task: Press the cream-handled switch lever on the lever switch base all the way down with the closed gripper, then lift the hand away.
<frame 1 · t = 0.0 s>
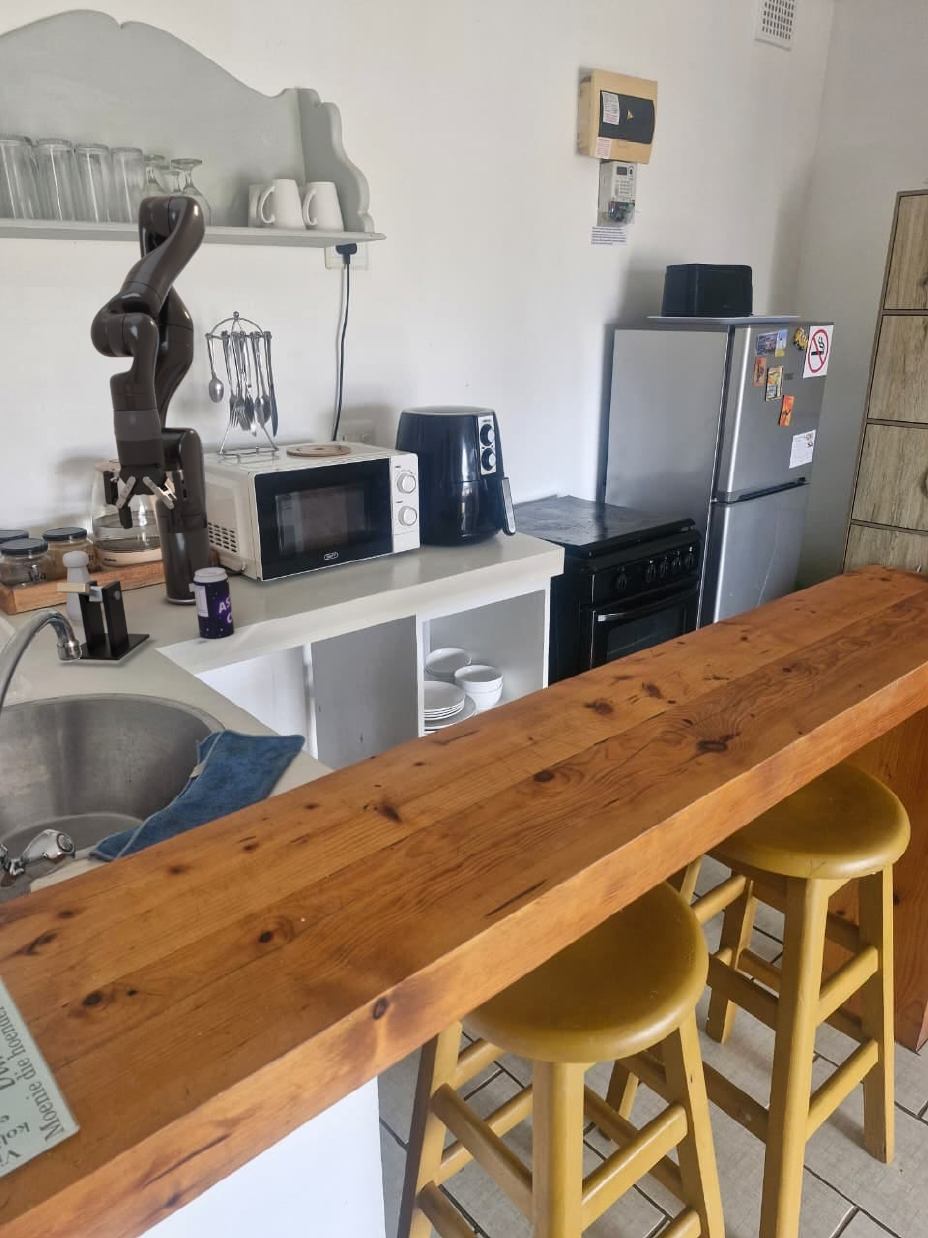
hand: (151, 528, 154), 17 cm above the countertop, tool pointing down, fingers open, 8 cm apart
lever switch base: (109, 652, 144), on the countertop
switch lever: (88, 591, 137), point 12 cm above the countertop, hinge at 25.0°
beverage can: (217, 639, 150), on the countertop
salt shaker: (85, 622, 160), on the countertop
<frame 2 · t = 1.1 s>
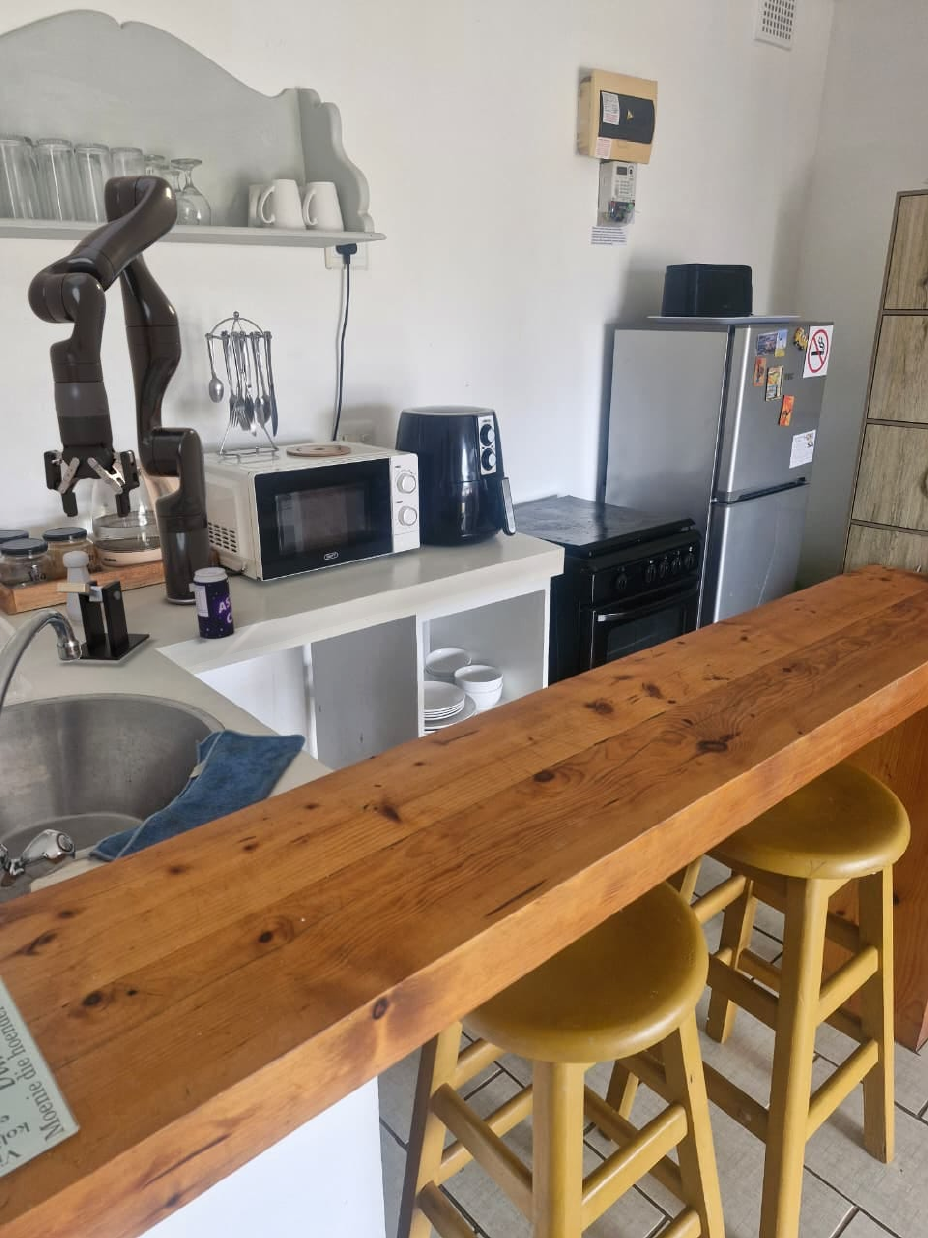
hand: (97, 516, 138), 23 cm above the countertop, tool pointing down, fingers open, 8 cm apart
nothing on the countertop moved.
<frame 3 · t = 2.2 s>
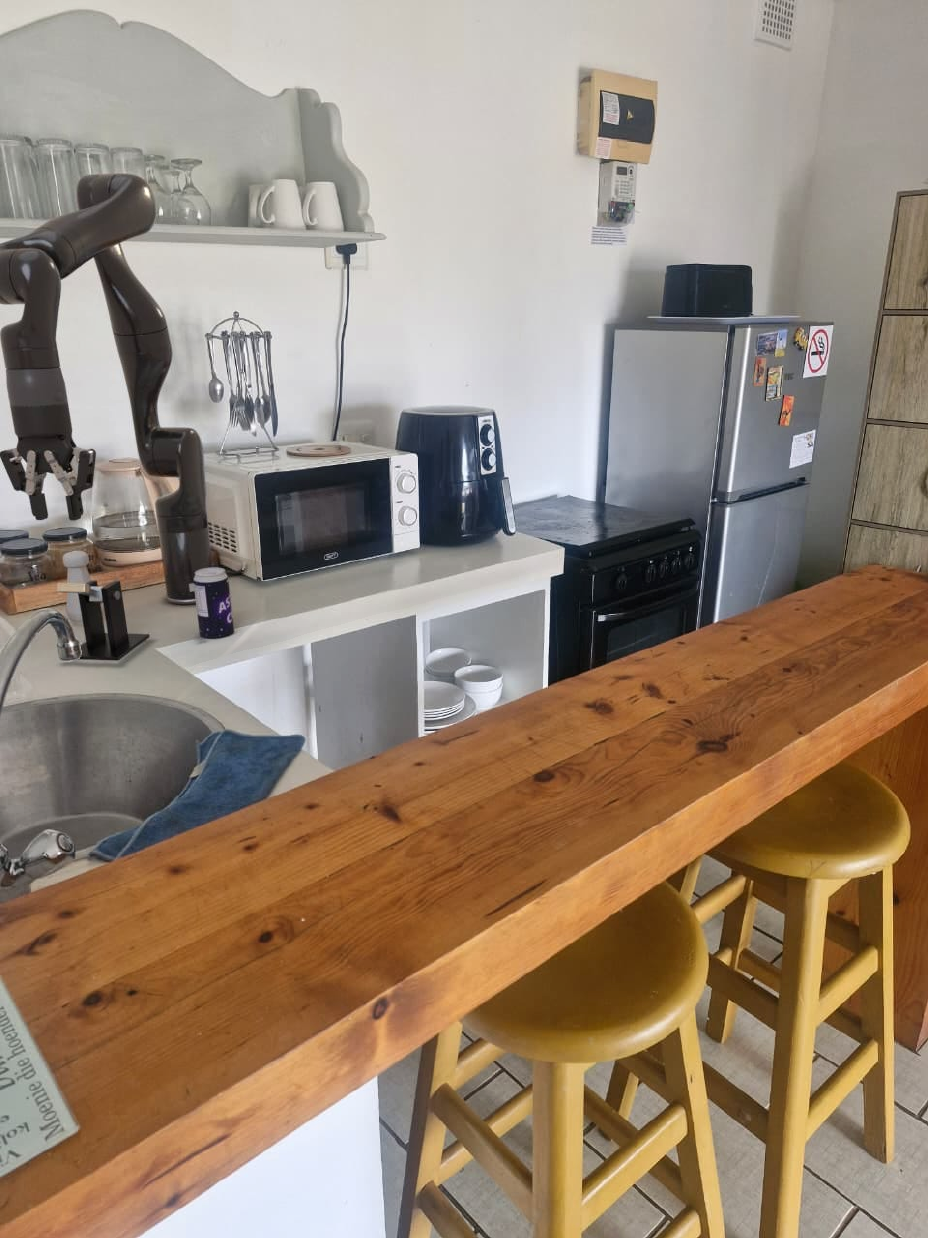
hand: (58, 518, 129), 24 cm above the countertop, tool pointing down, fingers open, 4 cm apart
nothing on the countertop moved.
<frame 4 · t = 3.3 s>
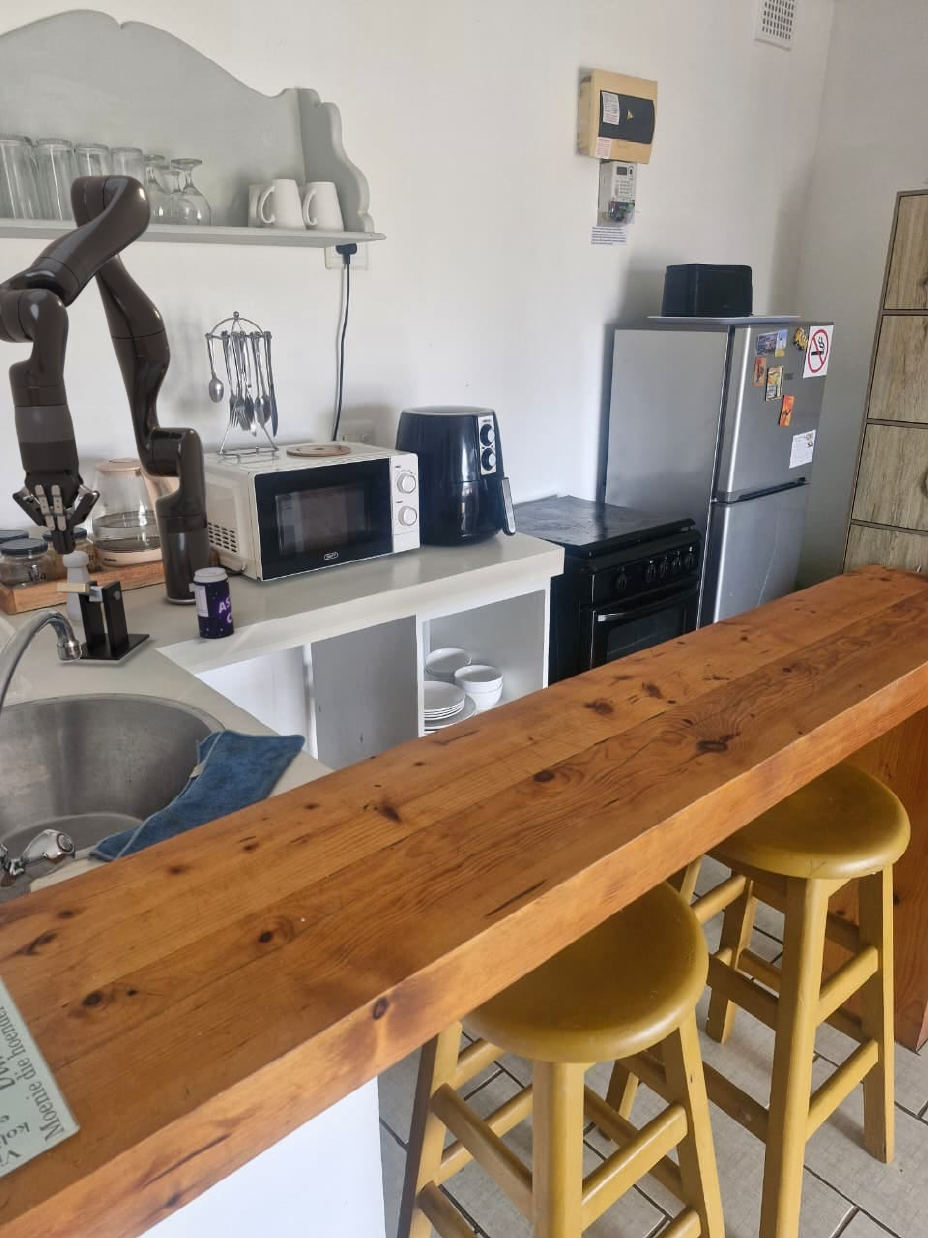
hand: (65, 553, 131), 19 cm above the countertop, tool pointing down, fingers closed
nothing on the countertop moved.
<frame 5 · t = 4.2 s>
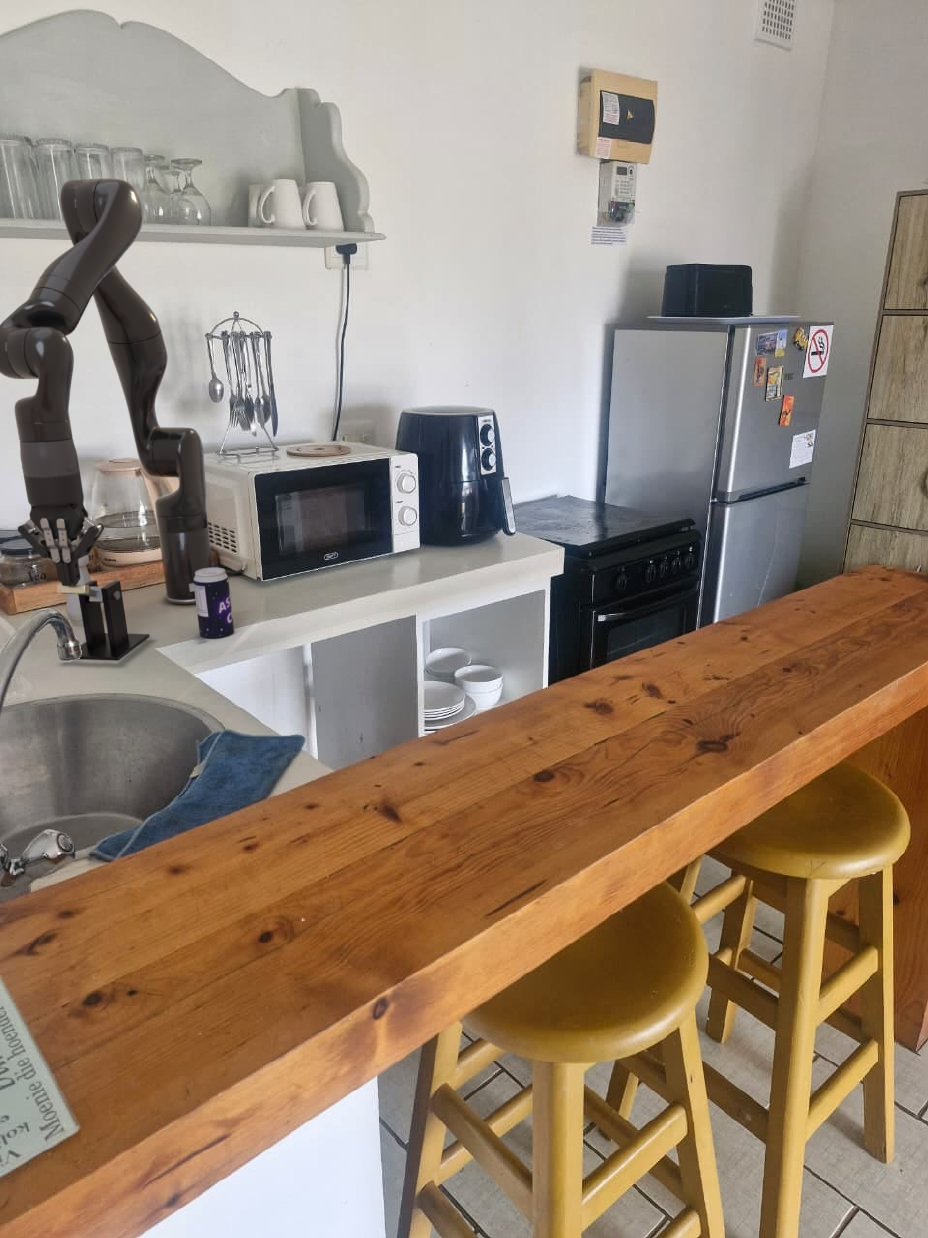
hand: (70, 584, 132), 14 cm above the countertop, tool pointing down, fingers closed
switch lever: (88, 592, 137), point 11 cm above the countertop, hinge at 23.7°, touching gripper
everything else where it was.
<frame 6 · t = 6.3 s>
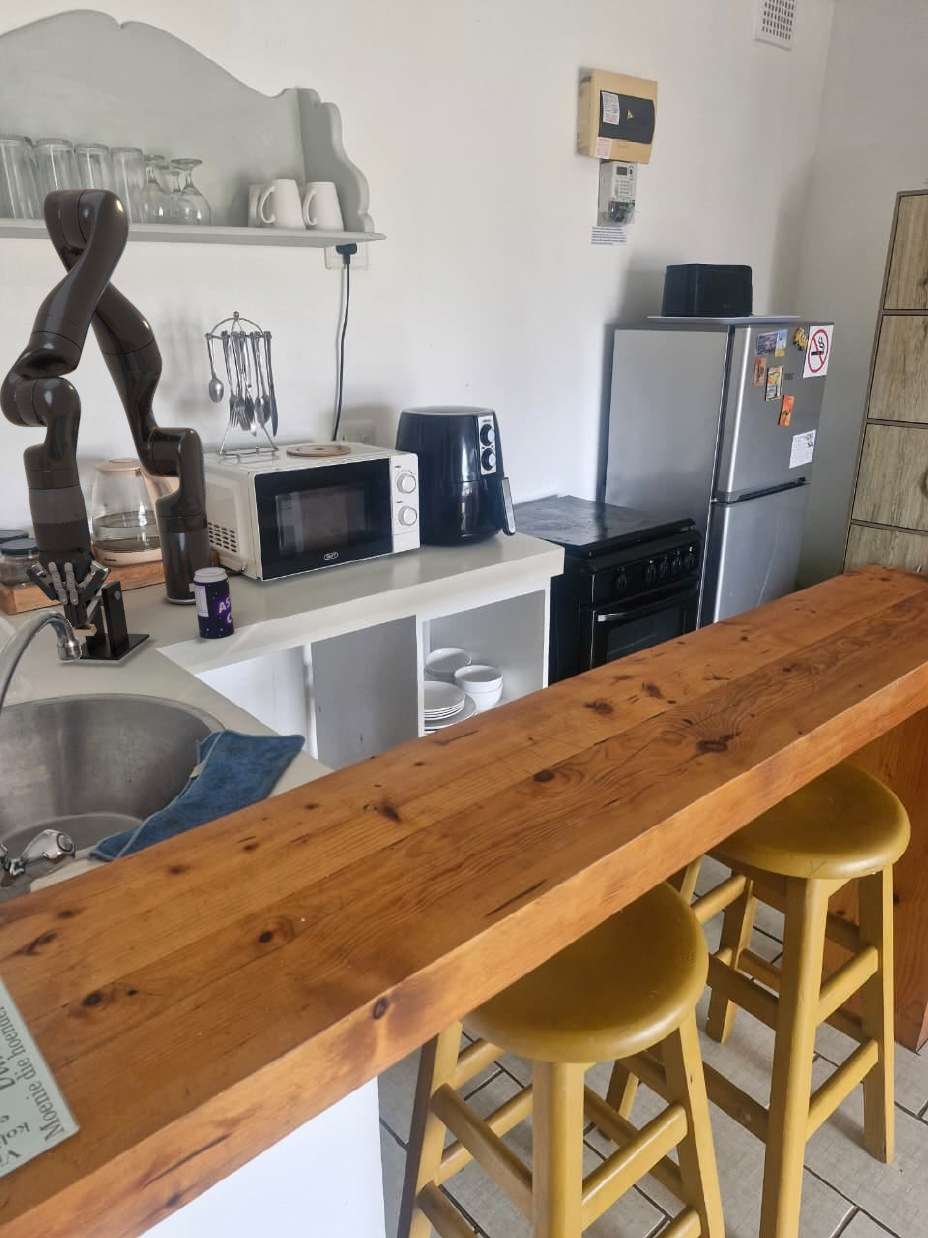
hand: (77, 625, 134), 7 cm above the countertop, tool pointing down, fingers closed
switch lever: (91, 610, 138), point 8 cm above the countertop, hinge at -25.3°, touching gripper
everything else where it was.
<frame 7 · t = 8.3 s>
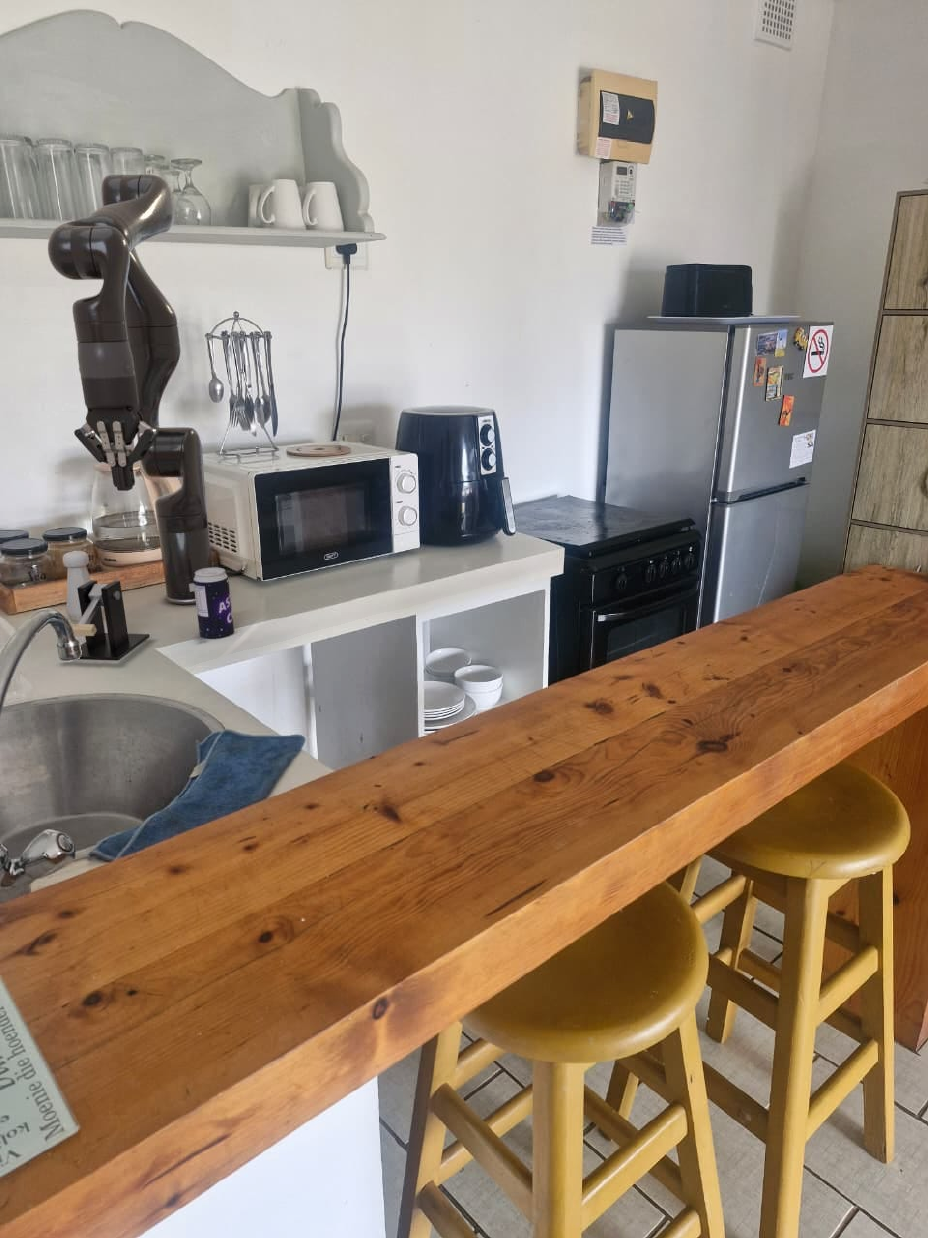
hand: (125, 489, 134), 27 cm above the countertop, tool pointing down, fingers closed
switch lever: (91, 610, 138), point 8 cm above the countertop, hinge at -25.3°
everything else where it was.
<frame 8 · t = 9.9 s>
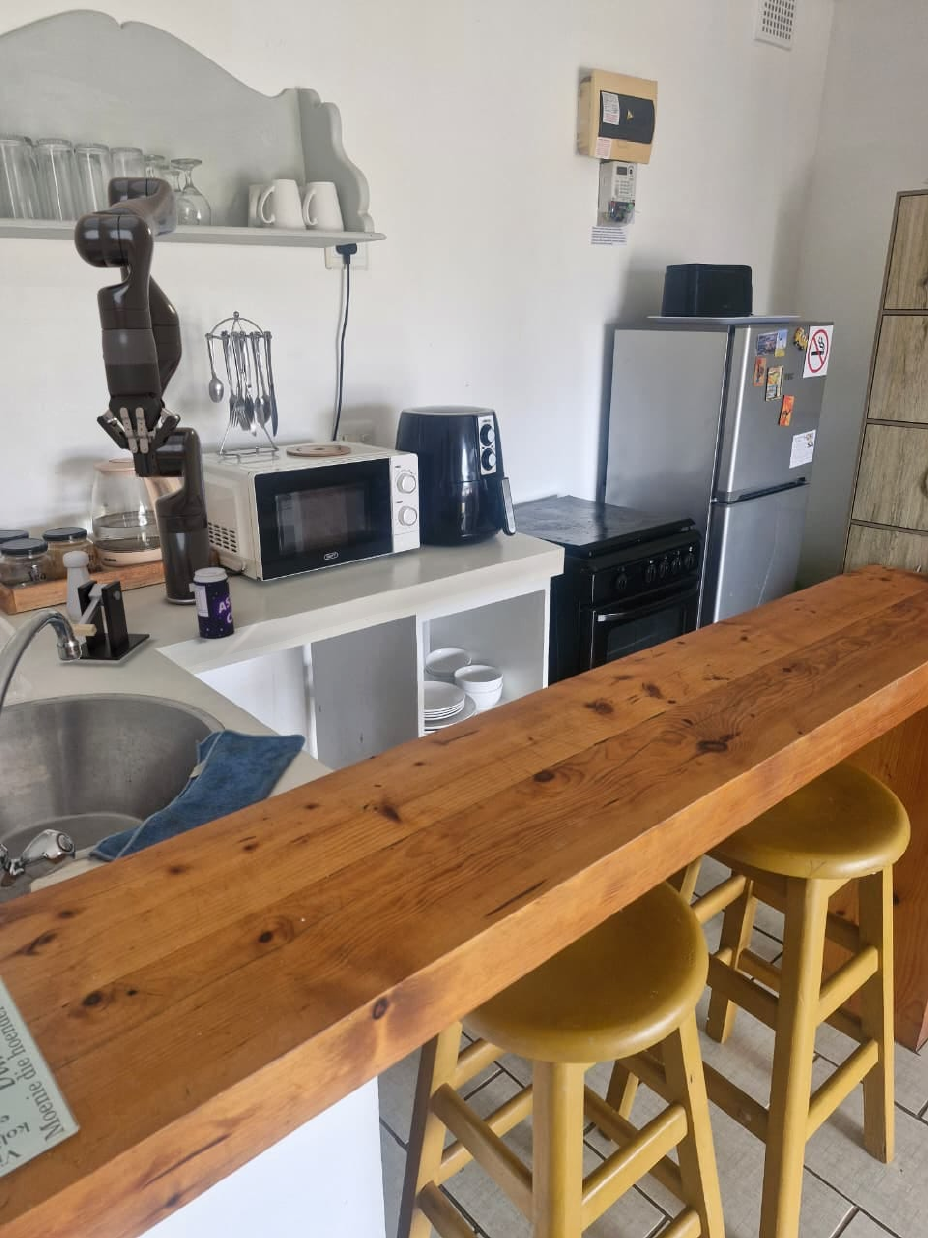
hand: (146, 476, 135), 29 cm above the countertop, tool pointing down, fingers closed
nothing on the countertop moved.
at the end: switch lever at -25° (first picture: +25°) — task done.
